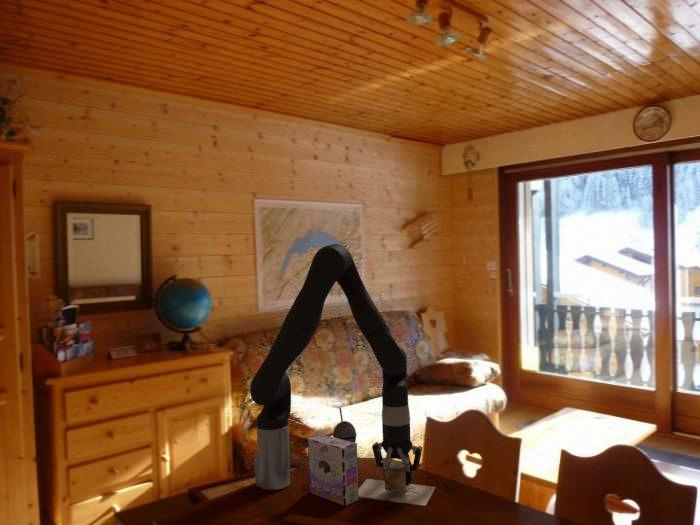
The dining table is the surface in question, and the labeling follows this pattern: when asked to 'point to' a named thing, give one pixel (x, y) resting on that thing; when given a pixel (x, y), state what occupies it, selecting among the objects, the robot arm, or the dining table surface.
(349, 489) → the candy box
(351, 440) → the beverage cup
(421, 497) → the board
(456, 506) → the dining table surface
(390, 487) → the block
